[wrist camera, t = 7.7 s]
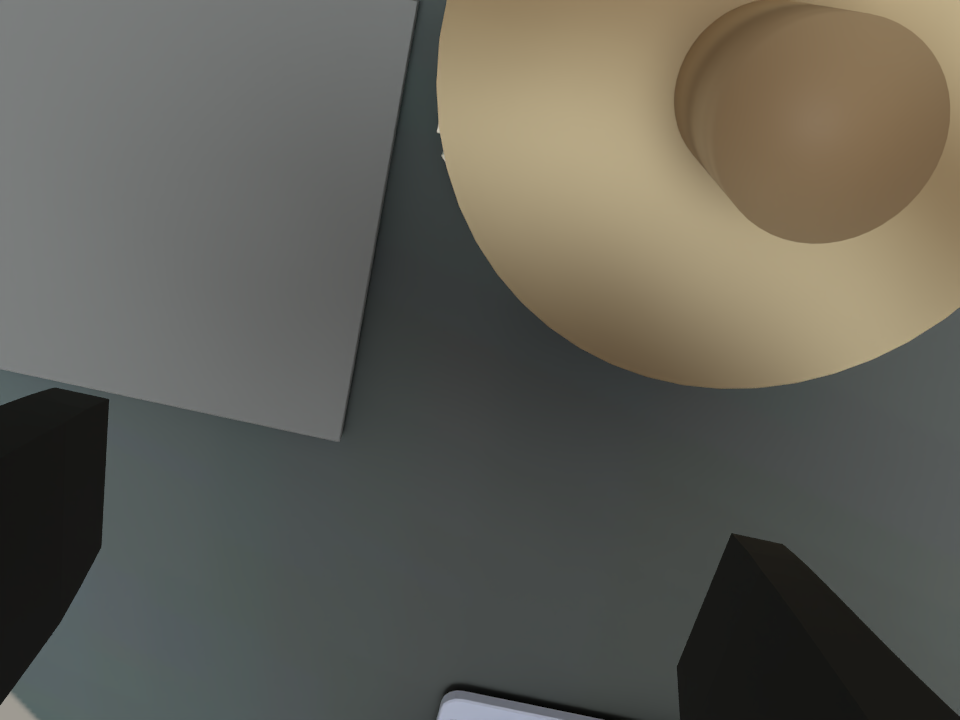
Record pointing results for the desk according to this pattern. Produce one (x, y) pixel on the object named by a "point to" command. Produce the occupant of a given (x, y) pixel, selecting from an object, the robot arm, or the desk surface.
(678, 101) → the lid
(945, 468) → the desk surface
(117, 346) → the mat
